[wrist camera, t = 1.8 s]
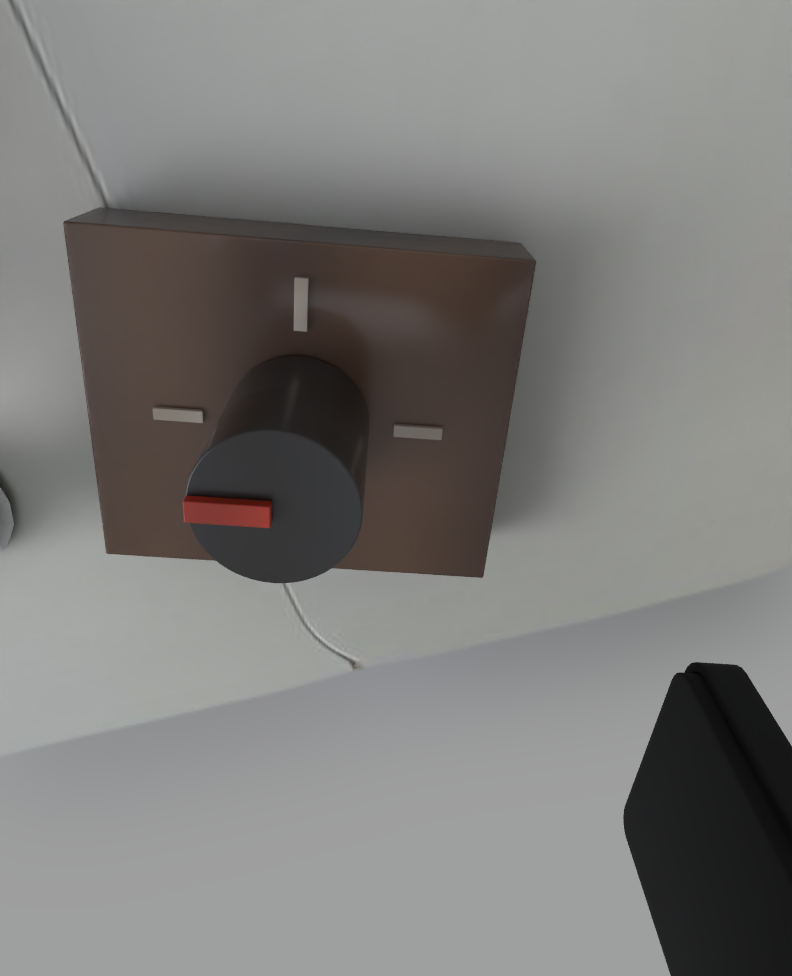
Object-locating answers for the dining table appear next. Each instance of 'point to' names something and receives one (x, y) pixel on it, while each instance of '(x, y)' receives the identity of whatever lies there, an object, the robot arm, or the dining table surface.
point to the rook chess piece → (5, 520)
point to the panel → (309, 333)
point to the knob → (283, 473)
